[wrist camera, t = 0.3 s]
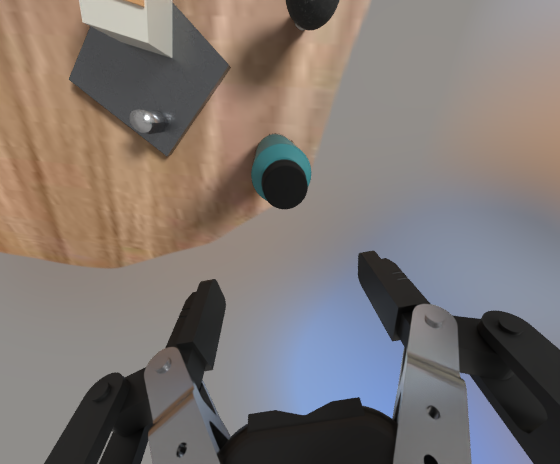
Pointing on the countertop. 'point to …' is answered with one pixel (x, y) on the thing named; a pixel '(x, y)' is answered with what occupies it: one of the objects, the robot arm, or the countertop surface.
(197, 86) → the plate
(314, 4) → the light bulb
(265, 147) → the beverage bottle
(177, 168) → the countertop surface
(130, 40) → the white box
